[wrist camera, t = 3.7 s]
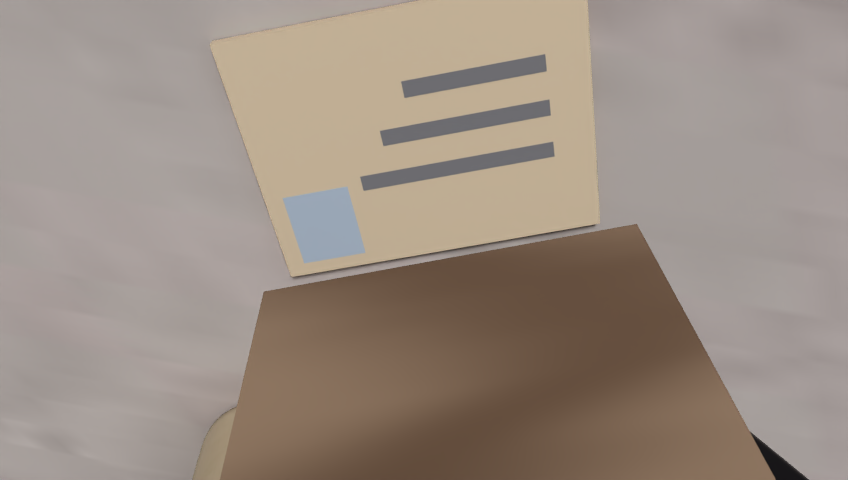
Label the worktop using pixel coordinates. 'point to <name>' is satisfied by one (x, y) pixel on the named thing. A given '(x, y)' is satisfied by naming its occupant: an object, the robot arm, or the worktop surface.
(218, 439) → the candle
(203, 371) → the worktop surface
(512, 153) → the letter
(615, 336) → the block
